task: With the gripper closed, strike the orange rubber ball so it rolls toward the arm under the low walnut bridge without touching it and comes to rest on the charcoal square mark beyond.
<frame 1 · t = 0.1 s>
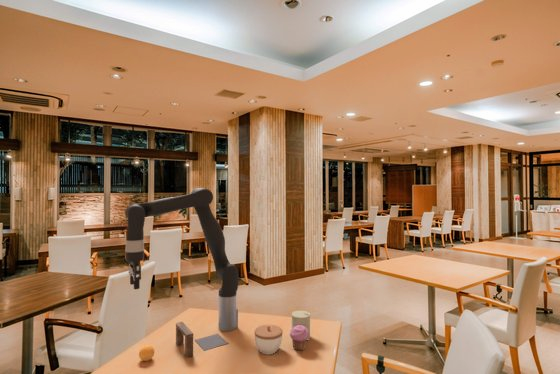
hand: (134, 286, 144), 29 cm above the table, tool pointing down, fingers open, 8 cm apart
can: (300, 337, 159), on the table
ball: (146, 353, 137), on the table
bridge: (184, 349, 146), on the table
cupcake: (299, 348, 148), on the table
lidded bowl: (268, 351, 146), on the table
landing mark: (211, 341, 154), on the table
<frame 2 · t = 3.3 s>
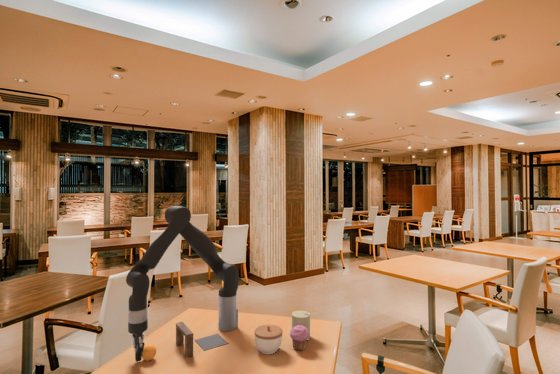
hand: (138, 360, 136), 1 cm above the table, tool pointing down, fingers closed
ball: (148, 352, 138), on the table, touching gripper
everything else where it was.
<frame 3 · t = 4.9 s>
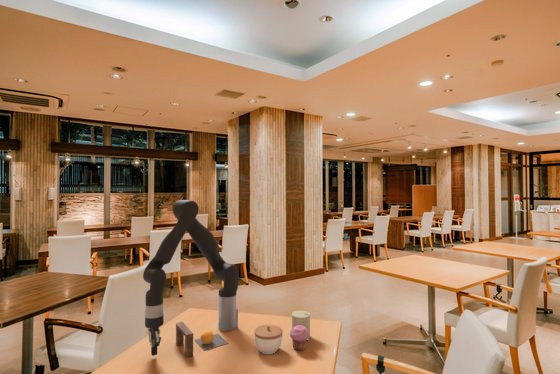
hand: (154, 354, 139), 2 cm above the table, tool pointing down, fingers closed
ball: (207, 337, 152), on the table
everything else where it was.
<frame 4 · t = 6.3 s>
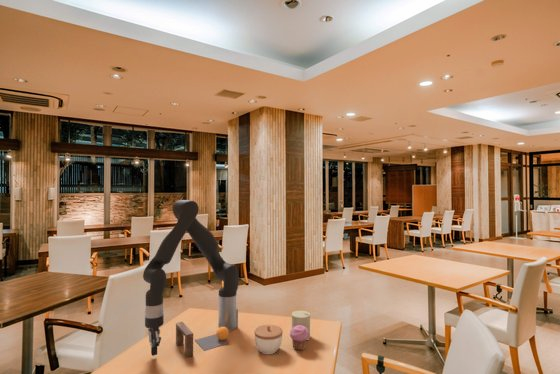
hand: (154, 354, 139), 2 cm above the table, tool pointing down, fingers closed
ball: (222, 333, 156), on the table
everything else where it was.
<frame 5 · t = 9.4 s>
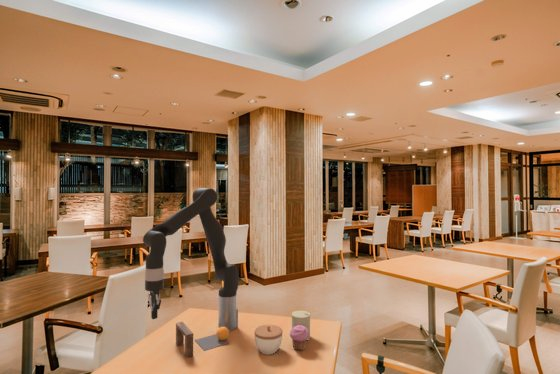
hand: (154, 318, 139), 17 cm above the table, tool pointing down, fingers closed
nothing on the table moved.
at the end: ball 5.5 cm from the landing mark (horizontally); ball never touched bridge; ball at rest at the end (0.0 cm/s) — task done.
